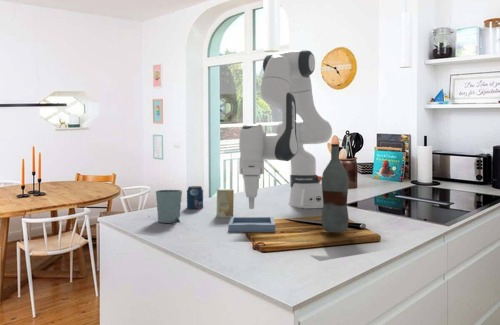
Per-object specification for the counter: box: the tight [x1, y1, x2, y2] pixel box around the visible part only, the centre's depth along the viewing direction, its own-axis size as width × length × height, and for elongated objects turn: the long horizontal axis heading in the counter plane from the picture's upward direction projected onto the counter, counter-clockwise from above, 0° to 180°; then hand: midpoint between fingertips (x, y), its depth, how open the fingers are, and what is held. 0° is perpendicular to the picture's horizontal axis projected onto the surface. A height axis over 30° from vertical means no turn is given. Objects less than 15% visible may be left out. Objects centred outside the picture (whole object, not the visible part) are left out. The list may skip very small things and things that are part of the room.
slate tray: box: [227, 216, 276, 233], centre depth 156 cm, size 16×16×2 cm
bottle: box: [321, 143, 350, 233], centre depth 150 cm, size 9×9×30 cm
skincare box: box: [216, 188, 235, 219], centre depth 174 cm, size 6×4×12 cm
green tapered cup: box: [155, 189, 183, 224], centre depth 172 cm, size 10×10×12 cm
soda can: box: [186, 185, 204, 211], centre depth 187 cm, size 7×7×12 cm
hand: (251, 207), depth 156 cm, fingers open, 5 cm apart
